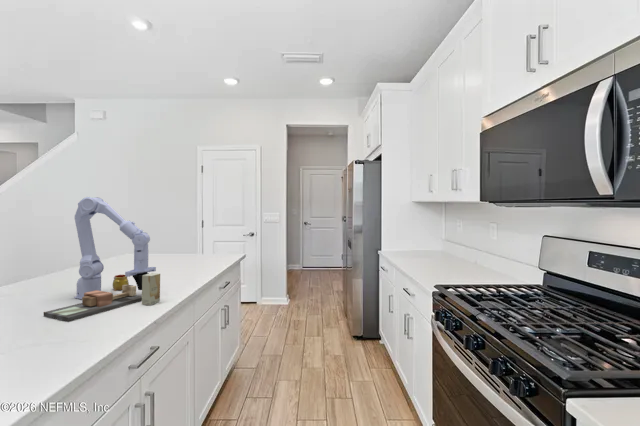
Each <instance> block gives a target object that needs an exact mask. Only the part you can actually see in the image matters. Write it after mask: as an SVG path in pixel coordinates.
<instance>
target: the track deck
mask: <svg viewBox="0 0 640 426" xmlns="http://www.w3.org/2000/svg"><path fill="white" fill-rule="evenodd" d="M112 293H113V292H110V291H103V290H101V291H98V290H95V291H91V292H86V293H84V297H85V296H96V297H97V305H95V306H85V305H82V302H80V303H77V304H73V305H68V306H64V307H61V308H60V307H59V308H55V309H52V310H47V311H44V312H43V317H44V318H49V319H55V320H58V321H63V322H67V323H69V322H73V321H76V320H80V319H83V318H87V317H91V316H95V315H98V314H101V313H102V314H103V313H105V312H109V311H111V310H115V309H116V310H117V309H119V308H121V307H125V306H129V305H133V304H137V303H140V302H142V295H137V294H136V295H135V296H125V297H122V298H118V299H114V300H113V301H112Z"/></svg>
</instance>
